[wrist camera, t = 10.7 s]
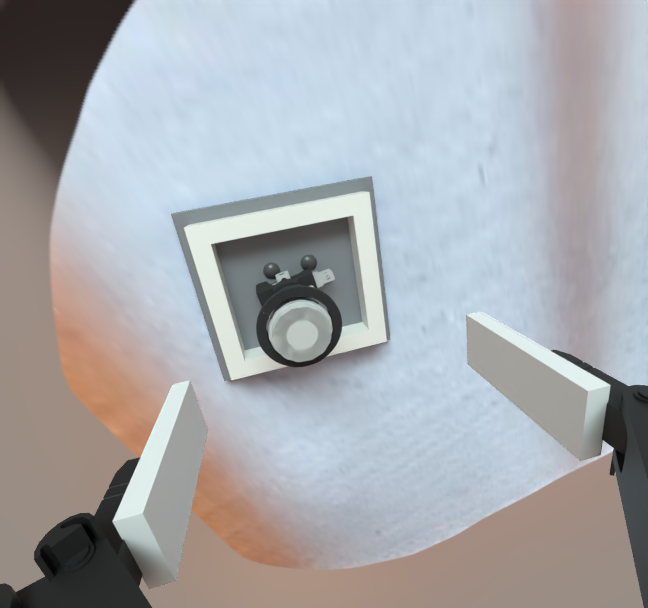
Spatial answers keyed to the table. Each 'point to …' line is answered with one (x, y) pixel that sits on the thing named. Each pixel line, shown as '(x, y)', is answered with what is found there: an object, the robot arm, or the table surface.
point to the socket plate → (285, 264)
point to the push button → (297, 318)
